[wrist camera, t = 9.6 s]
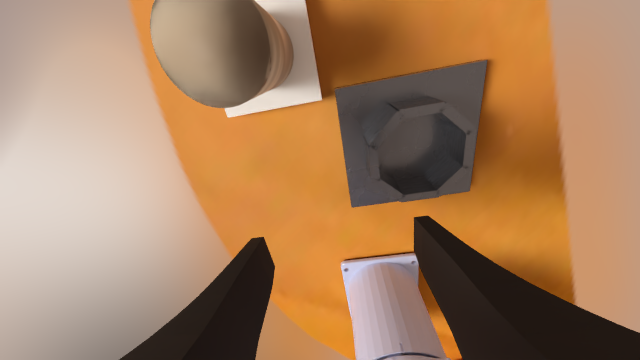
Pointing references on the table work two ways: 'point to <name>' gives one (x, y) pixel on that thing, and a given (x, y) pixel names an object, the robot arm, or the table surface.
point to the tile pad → (303, 80)
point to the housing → (411, 133)
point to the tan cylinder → (220, 49)
